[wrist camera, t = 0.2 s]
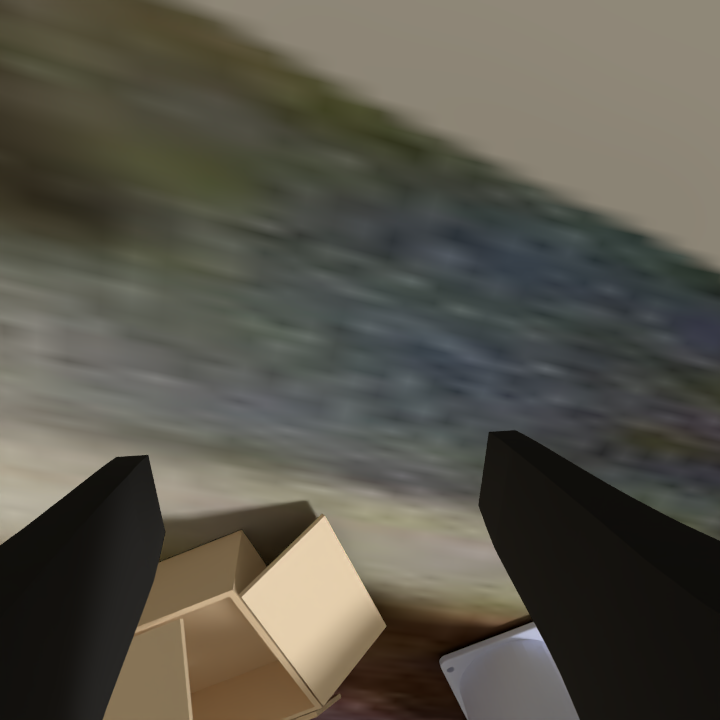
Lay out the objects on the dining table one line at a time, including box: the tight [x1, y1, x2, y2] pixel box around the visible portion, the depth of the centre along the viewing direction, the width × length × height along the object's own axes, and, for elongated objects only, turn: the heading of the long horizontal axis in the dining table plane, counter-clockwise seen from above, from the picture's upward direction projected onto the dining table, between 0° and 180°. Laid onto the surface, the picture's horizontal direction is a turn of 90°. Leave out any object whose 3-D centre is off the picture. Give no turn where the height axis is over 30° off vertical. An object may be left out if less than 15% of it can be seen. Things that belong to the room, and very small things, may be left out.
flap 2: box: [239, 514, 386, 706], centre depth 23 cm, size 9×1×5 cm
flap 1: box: [103, 619, 193, 720], centre depth 18 cm, size 1×5×5 cm
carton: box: [134, 530, 322, 720], centre depth 23 cm, size 10×10×4 cm
